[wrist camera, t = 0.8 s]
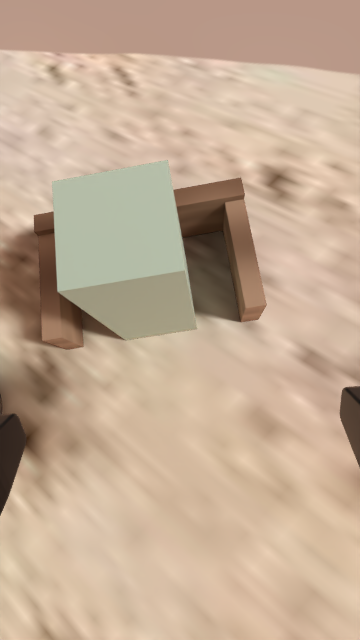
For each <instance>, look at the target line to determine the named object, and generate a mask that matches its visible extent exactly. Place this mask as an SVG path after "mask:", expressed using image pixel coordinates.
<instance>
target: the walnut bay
mask: <svg viewBox="0 0 360 640" xmlns="http://www.w3.org/2000/svg"><path fill="white" fill-rule="evenodd" d="M173 191H174V197H175V202H176V208H177V213H178V218H179V224H180V229H181V235H182V237H187V236H193V235H199V234H205V233H210V232H216V231H222V230H223V232H224V238H225V243H226V248H227V253H228V258H229V264H230V269H231V274H232V279H233V285H234V290H235V295H236V300H237V305H238V311H239V316H240V321H241V322H245V321H252V320H258V319H259V318H260V316H261V314H262V312H263V310H264V309H265V307H266V305H267V304H266V300H265V295H264V290H263V286H262V281H261V276H260V272H259V267H258V262H257V258H256V253H255V248H254V244H253V239H252V234H251V230H250V225H249V220H248V216H247V211H246V206H245V202H244V196H245V193H244V189H243V184H242V180H241V178H236V179H231V180H225V181H220V182H214V183H209V184H203V185H198V186H192V187H187V188H181V189H176V190H173ZM34 232H35V233H36V234H37V235H38V240H39V268H40V296H41V324H42V341H44V342H47V343H50V344H53V345H56V346H58V347H61V348H64V349H74V348H80V347H83V332H82V318H81V308H80V307H78V306H77V305H75V304H74V303H73V302H71V301H70V300H68V299H67V298H66V297H64V296H63V295H61V294H60V293H59V292H58V291H57V270H56V250H55V229H54V212H49V213H44V214H38V215H34Z"/></svg>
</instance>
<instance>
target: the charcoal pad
mask: <svg viewBox="0 0 360 640" xmlns="http://www.w3.org/2000/svg"><path fill="white" fill-rule="evenodd" d="M0 415H2V404H1V395H0Z"/></svg>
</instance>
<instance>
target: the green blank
mask: <svg viewBox="0 0 360 640" xmlns="http://www.w3.org/2000/svg"><path fill="white" fill-rule="evenodd" d="M52 189H53V209H54V229H55V250H56V270H57V291H58V292H59V293H60V294H61V295H63V296H64V297H66V298H67V299H68V300H70V301H71V302H73V303H74V304H75V305H77V306H78V307H80V308H81V309H82V310H84V311H85V312H87V313H88V314H89V315H91V316H92V317H94V318H95V319H96V320H98V321H99V322H101V323H102V324H103V325H105V326H106V327H108V328H109V329H110V330H112V331H113V332H115V333H116V334H117V335H119V336H120V337H122V338H123V339H124V340H132V339H138V338H144V337H151V336H157V335H163V334H170V333H176V332H183V331H189V330H195V329H197V326H196V320H195V313H194V307H193V300H192V294H191V288H190V281H189V275H188V268H187V262H186V257H185V251H184V246H183V240H182V235H181V229H180V224H179V218H178V213H177V208H176V202H175V197H174V191H173V186H172V180H171V175H170V169H169V164H168V160H165V161H160V162H154V163H149V164H144V165H138V166H133V167H128V168H122V169H117V170H112V171H106V172H101V173H96V174H90V175H85V176H80V177H74V178H69V179H64V180H58V181H53V182H52Z"/></svg>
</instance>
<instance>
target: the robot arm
mask: <svg viewBox="0 0 360 640" xmlns="http://www.w3.org/2000/svg"><path fill="white" fill-rule="evenodd" d="M340 418H341V422H342V424H343V427H344V429H345V432H346V434H347V437H348V439H349V442H350V444H351V447H352V449H353V452H354V454H355V457H356V459H357V462H358V464H359V467H360V386H354V387H345V388H344V389H343V390H342V395H341V405H340ZM25 445H26V434H25V432H24V429H23V427H22V424H21V422H20V419H19V417H18V416H17V415H16V414H3V415H0V515H1V513H2V511H3V508H4V506H5V504H6V501H7V499H8V496H9V493H10V491H11V488H12V485H13V482H14V479H15V476H16V473H17V470H18V467H19V463H20V460H21V457H22V454H23V451H24V448H25Z"/></svg>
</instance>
